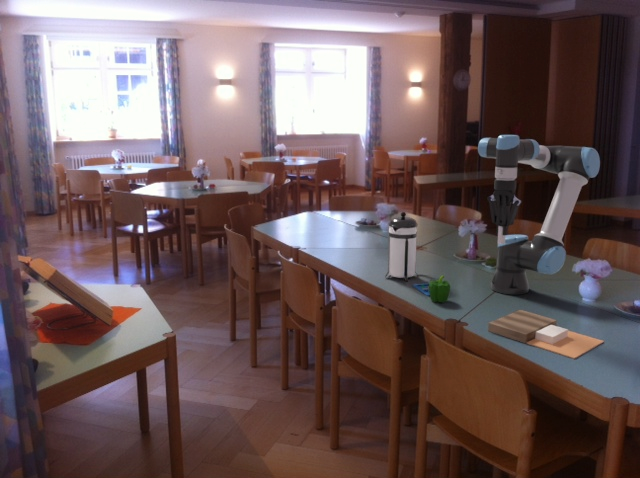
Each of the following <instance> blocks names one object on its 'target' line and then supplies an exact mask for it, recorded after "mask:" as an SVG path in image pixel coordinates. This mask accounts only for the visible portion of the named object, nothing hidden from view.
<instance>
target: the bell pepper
mask: <svg viewBox="0 0 640 478" xmlns="http://www.w3.org/2000/svg"><path fill="white" fill-rule="evenodd" d="M444 278H445V276H444V275H441V276H440V277H439V279H437V280H430V282H428V283H429V293H430V296H429V297H430V300H431V301H432V302H435V303H446V302H447V301H448V300H449V297H450V292H451V285H450V283H449V282H448V280H443V279H444Z"/></svg>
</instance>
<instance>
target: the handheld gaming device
mask: <svg viewBox="0 0 640 478" xmlns="http://www.w3.org/2000/svg"><path fill="white" fill-rule="evenodd" d="M429 283H430V282H427V283H416V284H412V287H413V288H415V289H417V290H418V291H419V292H420V293H422V294H423V295H425V296H427V297H430V293H429Z"/></svg>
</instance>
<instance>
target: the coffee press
mask: <svg viewBox="0 0 640 478" xmlns="http://www.w3.org/2000/svg"><path fill="white" fill-rule="evenodd" d="M406 215H407V213H406V212H405V211H402V212H401V213H400V216H396V217H392V218H391V219H390V220H389V222H388V223H387V225H388V227H389V228H388V234H387V235H388V241H387V244H388V246H387V247H388V248H387V249H388V251H387V254H388V255H387V273H386V274H385V276H384V278H385V279H390V278H391V277H394V278H398V279H399V278H400V279H403V283H408V282H409V279H408V278H411V277H415V278H418V277H419V275H418V273H417V269H416V267H417V265H416V264H417V240H418V239H417V237H418V231H417V229H418V224H419V223H417V222H418V221H416V219H415V218H414V217H410V216H406ZM415 274H416V275H415ZM387 276H388V277H387Z"/></svg>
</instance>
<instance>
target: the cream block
mask: <svg viewBox="0 0 640 478" xmlns="http://www.w3.org/2000/svg"><path fill="white" fill-rule="evenodd" d="M568 331H569V329H568V328H564V327H562V326H561V327H560V326H557V325H556V326H554V325H549V326H547V327H545V328H543V329H541V330H539V331H537V332H536V335H535V339H537V340H540V341H543V342H546V343H549V344H554V343H556V342H558V341H560V340H562V339H564V338H566V337H568Z"/></svg>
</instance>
